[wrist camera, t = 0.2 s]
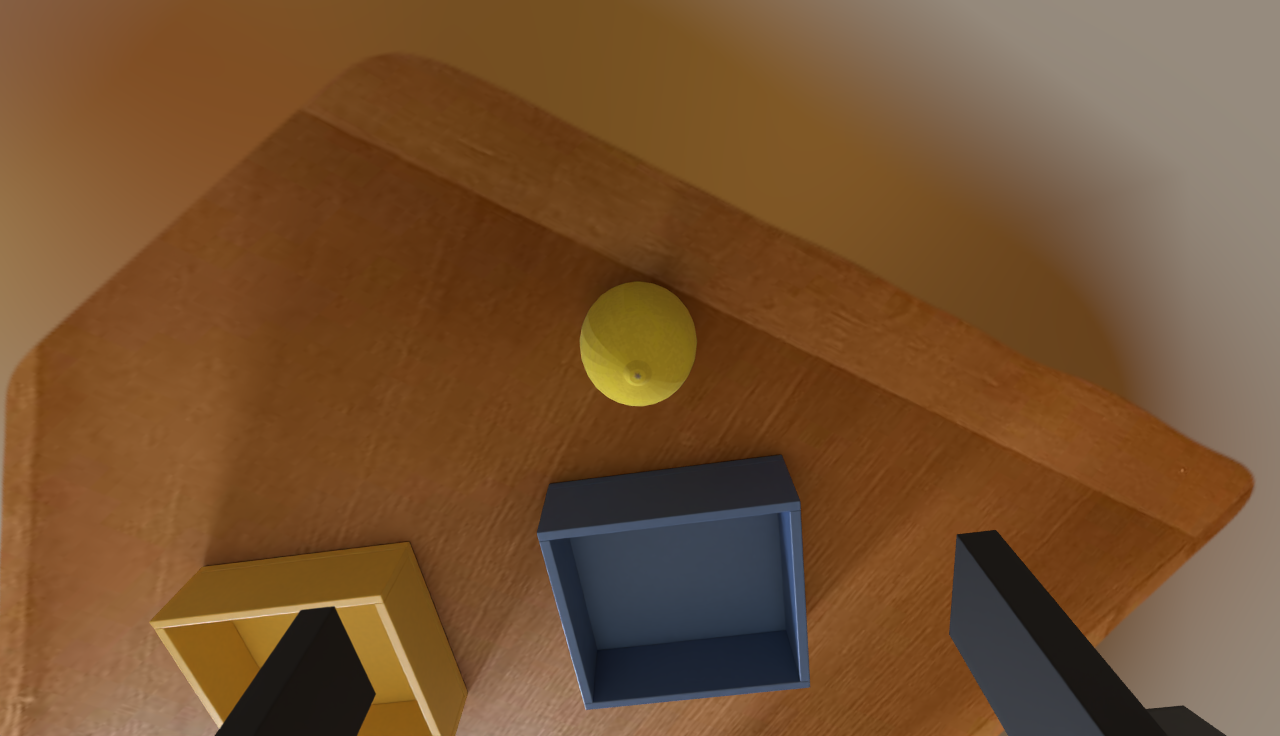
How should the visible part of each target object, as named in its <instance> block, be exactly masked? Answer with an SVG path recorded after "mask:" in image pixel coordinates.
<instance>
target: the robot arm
mask: <svg viewBox="0 0 1280 736" xmlns="http://www.w3.org/2000/svg"><path fill="white" fill-rule="evenodd" d="M949 635H950V636H951V638H952V640H953V642H954V643H955V645H956V647H957V648H958V650H959V652H960V654H961V655H962V657H963V659H964V660H965V662H966V664H967V666H968V667H969V669H970V671H971V673H972V674H973V676H974V678H975V679H976V681H977V683H978V685H979V686H980V688H981V690H982V691H983V693H984V695H985V697H986V698H987V700H988V702H989V703H990V705H991V707H992V709H993V710H994V712H995V714H996V716H997V717H998V719H999V721H1000V722H1001V724H1002V726H1003V728H1004V729H1005V731H1006V733H1007V734H1008V736H1226V735H1225V734H1223V733H1222V732H1220V731H1219V730H1218V729H1216V728H1214V727H1213V726H1212V725H1210V724H1209V723H1207V722H1206V721H1204V720H1203V719H1202V718H1200V717H1199V716H1198V715H1196V714H1195V713H1193V712H1192V711H1191V710H1189V709H1188V708H1186V707H1185V706H1174V707H1163V708H1153V709H1145V708H1144V707H1143V706H1142V704H1141V703H1140V702H1139V701H1138V699H1137V698H1136V697H1135V696H1134V695H1133V693H1132V692H1131V691H1130V690H1129V689H1128V687H1127V686H1126V685H1125V684H1124V683H1123V682H1122V680H1121V679H1120V678H1119V677H1118V676H1117V674H1116V673H1115V672H1114V671H1113V670H1112V669H1111V667H1110V666H1109V665H1108V664H1107V662H1106V661H1105V660H1104V659H1103V658H1102V656H1101V655H1100V654H1099V653H1098V652H1097V650H1096V649H1095V648H1094V647H1093V646H1092V644H1091V643H1090V642H1089V641H1088V640H1087V638H1086V637H1085V636H1084V635H1083V634H1082V632H1081V631H1080V630H1079V629H1078V628H1077V626H1076V625H1075V624H1074V623H1073V622H1072V620H1071V619H1070V618H1069V617H1068V616H1067V614H1066V613H1065V612H1064V611H1063V610H1062V608H1061V607H1060V606H1059V605H1058V604H1057V602H1056V601H1055V600H1054V599H1053V598H1052V597H1051V595H1050V594H1049V593H1048V592H1047V591H1046V589H1045V588H1044V587H1043V586H1042V585H1041V583H1040V582H1039V581H1038V580H1037V579H1036V577H1035V576H1034V575H1033V574H1032V573H1031V571H1030V570H1029V569H1028V568H1027V567H1026V565H1025V564H1024V563H1023V562H1022V561H1021V559H1020V558H1019V557H1018V556H1017V555H1016V553H1015V552H1014V551H1013V550H1012V549H1011V547H1010V546H1009V545H1008V544H1007V543H1006V541H1005V540H1004V539H1003V538H1002V537H1001V535H1000V534H999V533H998V532H997V531H996V530H991V531H983V532H974V533H965V534H957V539H956V552H955V565H954V578H953V591H952V604H951V617H950V630H949ZM375 695H376V693H375V690H374V688H373V686H372V684H371V682H370V680H369V678H368V676H367V674H366V672H365V669H364V667H363V665H362V663H361V661H360V659H359V657H358V655H357V653H356V650H355V648H354V646H353V644H352V642H351V640H350V638H349V636H348V634H347V632H346V629H345V627H344V625H343V623H342V621H341V619H340V617H339V615H338V613H337V611H336V608H335V606H331V607H322V608H313V609H304V610H300V612H299V613H298V615H297V616H296V617H295V619H294V620H293V622H292V623H291V625H290V626H289V628H288V629H287V631H286V632H285V634H284V635H283V636H282V638H281V639H280V641H279V642H278V644H277V645H276V647H275V648H274V650H273V651H272V653H271V654H270V656H269V657H268V658H267V660H266V661H265V663H264V664H263V666H262V667H261V669H260V670H259V672H258V673H257V675H256V676H255V677H254V679H253V680H252V682H251V683H250V685H249V686H248V688H247V689H246V691H245V692H244V694H243V695H242V697H241V698H240V699H239V701H238V702H237V704H236V705H235V707H234V708H233V710H232V711H231V713H230V714H229V716H228V717H227V719H226V720H225V721H224V723H223V724H222V726H221V727H220V729H219V730H218V732H217V733H216V735H215V736H357V735H358V733H359V730H360V728H361V726H362V724H363V722H364V720H365V717H366V715H367V713H368V711H369V709H370V706H371V704H372V702H373V700H374V698H375Z"/></svg>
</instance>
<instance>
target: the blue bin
mask: <svg viewBox="0 0 1280 736" xmlns="http://www.w3.org/2000/svg"><path fill="white" fill-rule="evenodd" d="M800 509H801V506H800V499H799V497H798V494H797V492H796V489H795V487H794V484H793V482H792V479H791V477H790V474H789V472H788V469H787V467H786V464H785V462H784V459H783V457H782V455H775V456H767V457H759V458H751V459H743V460H735V461H727V462H720V463H712V464H704V465H696V466H688V467H680V468H672V469H664V470H656V471H648V472H640V473H633V474H625V475H617V476H609V477H601V478H593V479H585V480H577V481H569V482H561V483H553V484H549V487H548V490H547V494H546V498H545V502H544V506H543V510H542V514H541V518H540V522H539V526H538V530H537V536H538V539H539V543H540V546H541V550H542V553H543V557H544V561H545V564H546V568H547V571H548V575H549V579H550V582H551V586H552V590H553V593H554V597H555V600H556V604H557V608H558V611H559V615H560V618H561V622H562V626H563V629H564V633H565V636H566V640H567V644H568V647H569V651H570V654H571V658H572V662H573V665H574V669H575V673H576V676H577V680H578V683H579V687H580V691H581V694H582V698H583V701H584V705H585V708H586V710H589V709H599V708H609V707H619V706H629V705H639V704H649V703H659V702H669V701H679V700H689V699H699V698H709V697H719V696H729V695H739V694H748V693H758V692H768V691H778V690H788V689H798V688H808V687H810V674H809V656H808V637H807V619H806V600H805V582H804V563H803V544H802V526H801V510H800Z"/></svg>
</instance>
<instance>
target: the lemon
mask: <svg viewBox="0 0 1280 736" xmlns="http://www.w3.org/2000/svg"><path fill="white" fill-rule="evenodd" d="M696 347H697V338H696V332H695V325H694V323H693V320H692V318H691V316H690V314H689V311H688V309H687V308H686V307H685V305H684V304H683V303H682V302H681V301H680V299H679V298H678V297H677V296H676V295H674V294H673V293H671V292H670V291H669V290H667V289H666V288H663V287H661V286H658V285H656V284H653V283H647V282H640V281H638V282H629V283H624V284H621V285H619V286H616V287H613V288H611V289H610V290H608V291H607V292H606V293H604V294H603V295H601V296H600V297H599V298H598V299H597V300H596V302H595V303H594V304H593V305H592V306H591V308H590V309H589V311H588V313H587V315H586V318H585V320H584V322H583V325H582V330H581V336H580V349H581V358H582V362H583V364H584V367H585V369H586V372H587V375H588V376H589V378H590V379H591V381H592V382H593V384H594V385H595V386H596V388H597V389H599V390H600V391H601V392H602V393H603V394H604V395H606V396H607V397H608V398H610V399H612V400H614V401H616V402H618V403H622V404H626V405H630V406H646V405H651V404H655V403H658V402H660V401H662V400H664V399H666V398H668V397H669V396H671V395H672V394H673V393H674V392H676V391H677V390H678V389H679V388H680V387H681V385H682V384H683V383H684V381H685V380H686V379H687V377H688V375H689V373H690V371H691V368H692V366H693V363H694V361H695V355H696Z"/></svg>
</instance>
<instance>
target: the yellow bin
mask: <svg viewBox="0 0 1280 736" xmlns="http://www.w3.org/2000/svg"><path fill="white" fill-rule="evenodd" d="M331 606H335V608H336V611H337V613H338V615H339V617H340V619H341V621H342V623H343V625H344V627H345V629H346V632H347V634H348V636H349V638H350V640H351V642H352V644H353V646H354V648H355V650H356V653H357V655H358V657H359V659H360V661H361V663H362V665H363V667H364V669H365V672H366V674H367V676H368V678H369V680H370V682H371V684H372V686H373V688H374V690H375V693H376V695H375V698H374V700H373V702H372V704H371V706H370V709H369V711H368V713H367V715H366V717H365V720H364V722H363V724H362V726H361V728H360V730H359V733H358V735H357V736H455V734H456V731H457V728H458V724H459V721H460V718H461V714H462V711H463V708H464V704H465V701H466V698H467V694H468V692H467V689H466V687H465V684H464V682H463V679H462V677H461V674H460V671H459V669H458V666H457V664H456V661H455V658H454V656H453V653H452V651H451V648H450V646H449V643H448V640H447V638H446V635H445V633H444V630H443V628H442V625H441V622H440V620H439V617H438V615H437V612H436V609H435V607H434V604H433V602H432V599H431V597H430V594H429V591H428V589H427V586H426V584H425V581H424V578H423V576H422V573H421V571H420V568H419V566H418V563H417V560H416V558H415V555H414V553H413V550H412V547H411V545H410V542H402V543H394V544H386V545H378V546H369V547H361V548H353V549H345V550H336V551H328V552H320V553H312V554H304V555H295V556H287V557H279V558H271V559H263V560H254V561H246V562H238V563H230V564H221V565H213V566H205V567H202V568H201V569H200V570H199V571H198V572H197V573H196V574H195V575H194V576H193V577H192V578H191V579H190V580H189V581H188V582H187V583H186V584H185V585H184V586H183V587H182V588H181V589H180V590H179V591H178V593H177V594H176V595H175V596H174V597H173V598H172V599H171V600H170V601H169V602H168V603H167V604H166V605H165V606H164V607H163V608H162V609H161V610H160V611H159V612H158V613H157V614H156V615H155V616H154V618H153V619H152V620H151V621H150V624H151V625H152V627H153V628H154V629H155V631H156V633H157V634H158V636H159V637H160V639H161V640H162V642H163V643H164V645H165V646H166V648H167V649H168V651H169V653H170V654H171V656H172V657H173V659H174V660H175V662H176V663H177V665H178V666H179V668H180V669H181V671H182V672H183V674H184V676H185V677H186V679H187V680H188V682H189V683H190V685H191V686H192V688H193V689H194V691H195V692H196V694H197V695H198V697H199V699H200V700H201V702H202V703H203V705H204V706H205V708H206V709H207V711H208V712H209V714H210V715H211V717H212V718H213V720H214V722H215V723H216V725H217V726H218V728H219V729H220V727H221V726H222V724H223V723H224V721H225V720H226V719H227V717H228V716H229V714H230V713H231V711H232V710H233V708H234V707H235V705H236V704H237V702H238V701H239V699H240V698H241V697H242V695H243V694H244V692H245V691H246V689H247V688H248V686H249V685H250V683H251V682H252V680H253V679H254V677H255V676H256V675H257V673H258V672H259V670H260V669H261V667H262V666H263V664H264V663H265V661H266V660H267V658H268V657H269V656H270V654H271V653H272V651H273V650H274V648H275V647H276V645H277V644H278V642H279V641H280V639H281V638H282V636H283V635H284V634H285V632H286V631H287V629H288V628H289V626H290V625H291V623H292V622H293V620H294V619H295V617H296V616H297V615H298V613H299V612H300V610H304V609H313V608H322V607H331Z"/></svg>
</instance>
